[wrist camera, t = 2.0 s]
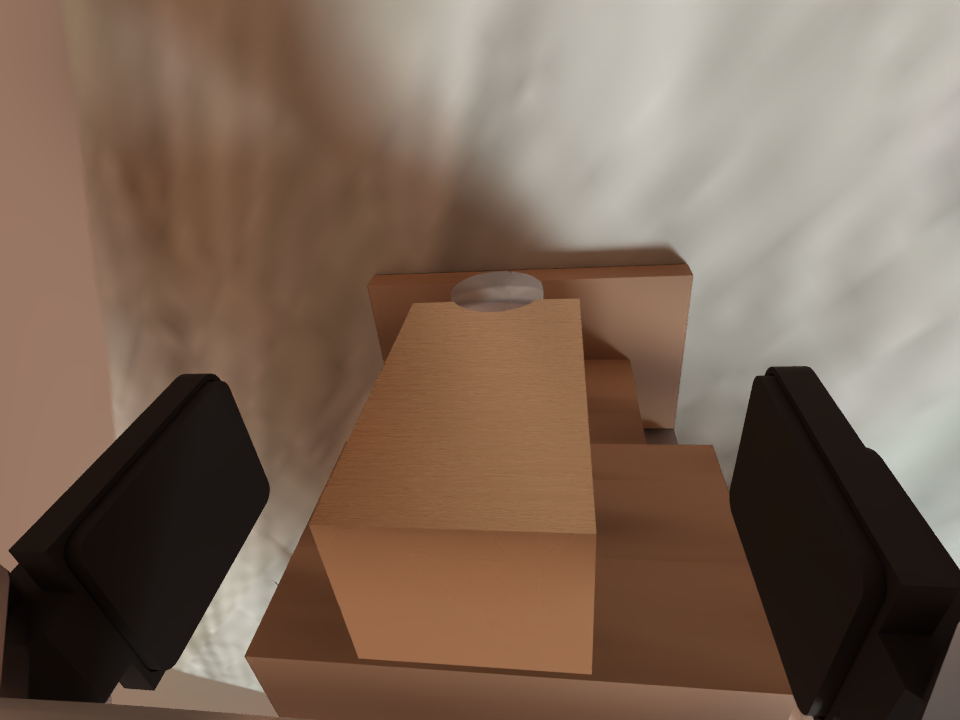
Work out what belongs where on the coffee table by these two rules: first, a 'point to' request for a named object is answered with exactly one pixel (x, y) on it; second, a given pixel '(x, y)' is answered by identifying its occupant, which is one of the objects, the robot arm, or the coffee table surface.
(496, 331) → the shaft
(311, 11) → the coffee table surface
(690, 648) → the bearing block
